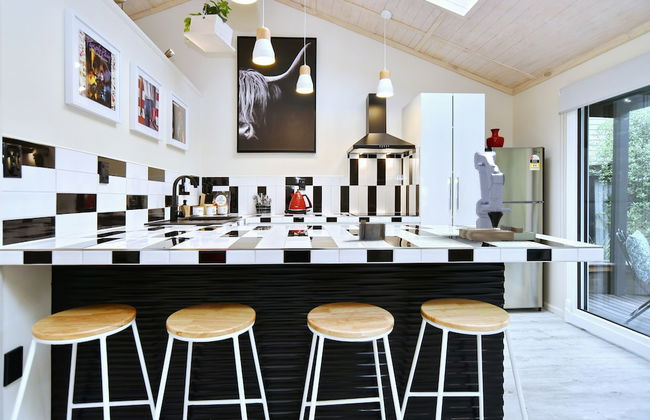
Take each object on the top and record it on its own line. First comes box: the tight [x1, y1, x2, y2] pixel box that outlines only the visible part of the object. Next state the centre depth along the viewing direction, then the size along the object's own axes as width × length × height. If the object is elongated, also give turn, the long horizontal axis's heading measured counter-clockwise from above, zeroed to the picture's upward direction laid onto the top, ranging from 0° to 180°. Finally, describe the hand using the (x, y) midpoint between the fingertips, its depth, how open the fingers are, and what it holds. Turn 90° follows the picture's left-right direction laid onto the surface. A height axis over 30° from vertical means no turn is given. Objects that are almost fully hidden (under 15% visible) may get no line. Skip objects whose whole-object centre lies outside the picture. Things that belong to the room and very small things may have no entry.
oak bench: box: [458, 228, 514, 242], centre depth 159 cm, size 15×18×4 cm
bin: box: [514, 230, 537, 242], centre depth 159 cm, size 15×10×4 cm, turn 2°
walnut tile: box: [511, 226, 524, 233], centre depth 155 cm, size 5×5×2 cm
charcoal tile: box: [499, 224, 512, 231], centre depth 162 cm, size 5×5×2 cm
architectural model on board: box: [358, 219, 386, 241], centre depth 153 cm, size 11×3×10 cm, turn 99°
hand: (494, 227), depth 162 cm, fingers closed
